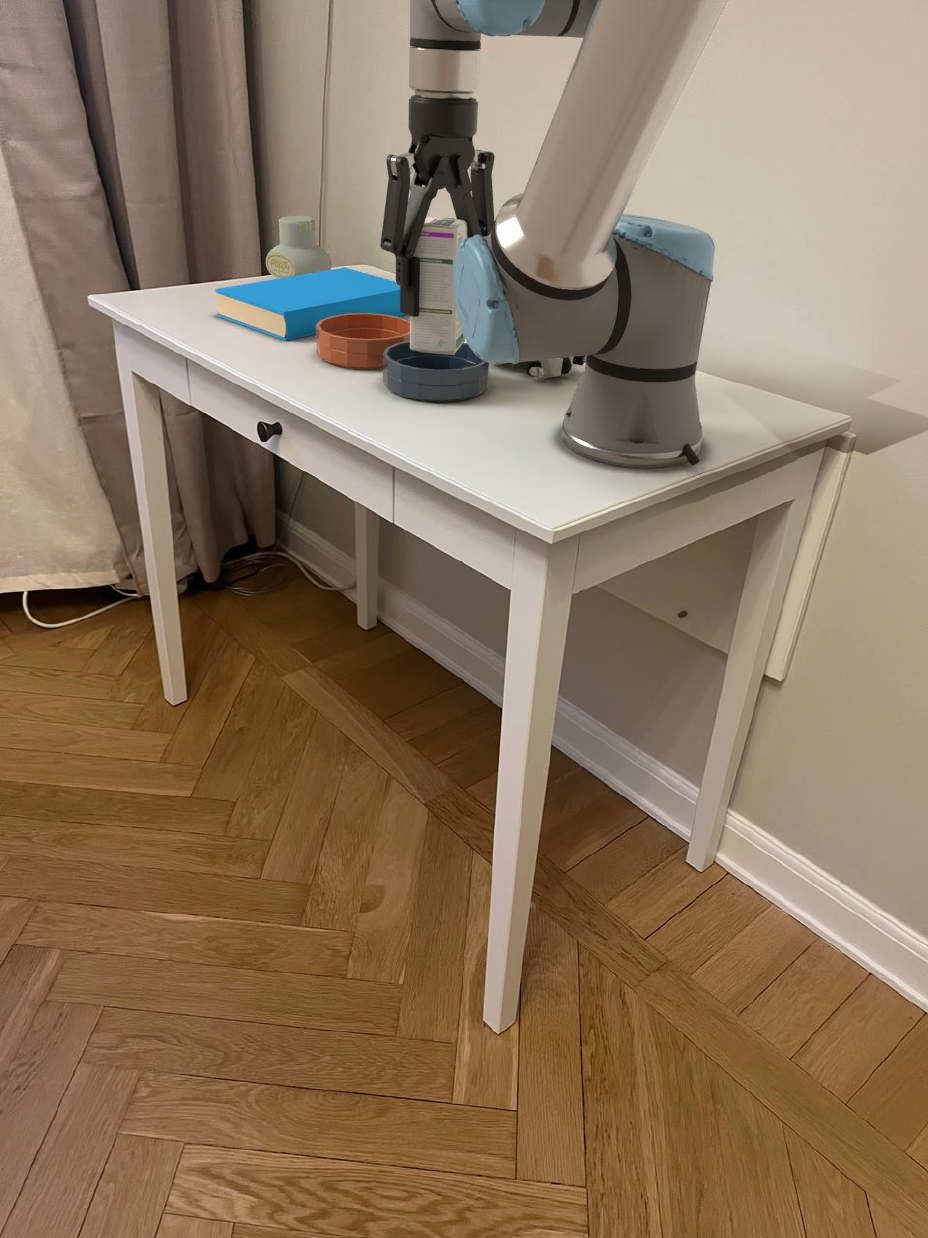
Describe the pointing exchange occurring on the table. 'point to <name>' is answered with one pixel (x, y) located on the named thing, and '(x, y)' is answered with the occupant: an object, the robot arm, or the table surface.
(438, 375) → the slate bowl
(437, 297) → the syrup box
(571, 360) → the robot toy
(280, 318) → the book
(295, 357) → the table surface
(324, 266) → the air freshener
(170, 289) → the table surface
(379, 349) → the terracotta bowl
